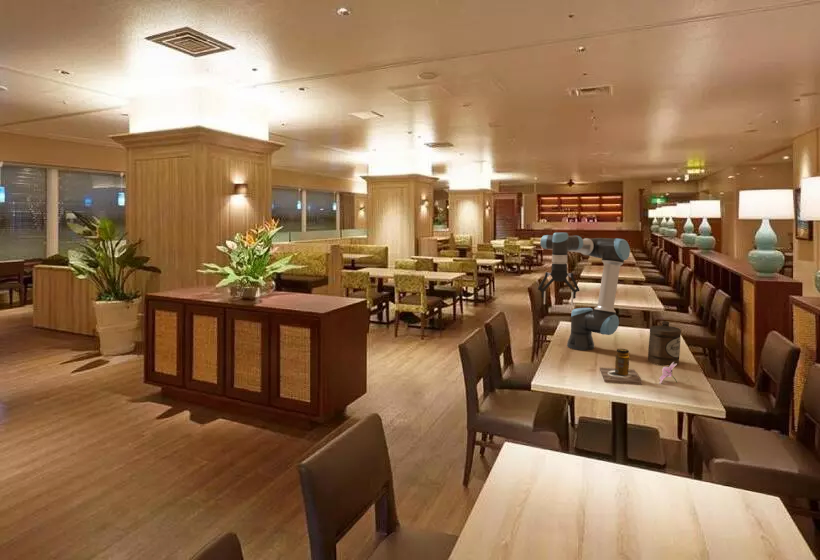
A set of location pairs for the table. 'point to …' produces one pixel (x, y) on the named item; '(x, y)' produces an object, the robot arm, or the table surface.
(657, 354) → the wooden container
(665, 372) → the lily
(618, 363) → the condiment
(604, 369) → the board
